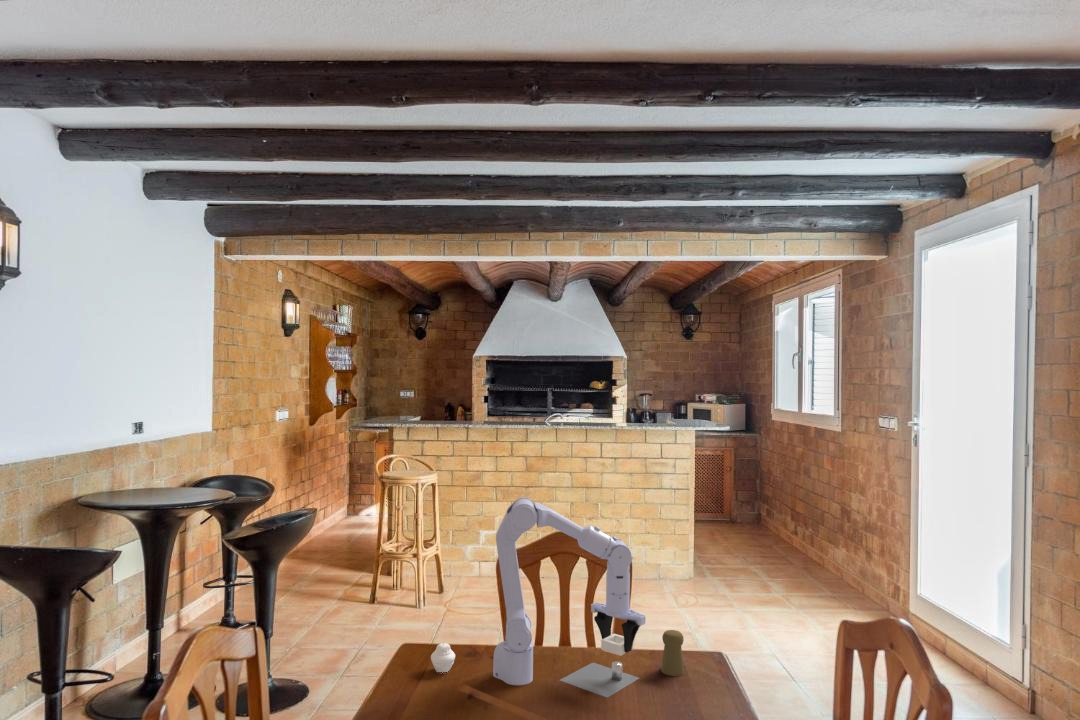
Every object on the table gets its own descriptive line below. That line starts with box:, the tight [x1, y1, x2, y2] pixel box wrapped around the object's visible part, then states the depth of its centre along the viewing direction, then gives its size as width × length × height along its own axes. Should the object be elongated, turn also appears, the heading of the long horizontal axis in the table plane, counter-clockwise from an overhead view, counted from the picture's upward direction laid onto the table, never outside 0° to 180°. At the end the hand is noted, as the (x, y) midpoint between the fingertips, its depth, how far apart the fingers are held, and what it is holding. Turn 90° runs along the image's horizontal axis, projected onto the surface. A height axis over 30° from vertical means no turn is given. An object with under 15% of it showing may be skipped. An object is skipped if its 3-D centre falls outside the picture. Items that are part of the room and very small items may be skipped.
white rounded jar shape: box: [430, 642, 456, 674], centre depth 177 cm, size 6×6×7 cm
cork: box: [660, 629, 685, 677], centre depth 176 cm, size 6×6×11 cm
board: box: [559, 662, 640, 698], centre depth 171 cm, size 14×14×1 cm
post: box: [611, 661, 623, 681], centre depth 171 cm, size 3×3×4 cm
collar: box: [600, 633, 634, 656], centre depth 172 cm, size 6×6×2 cm
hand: (617, 647), depth 172 cm, fingers closed on collar, 6 cm apart
